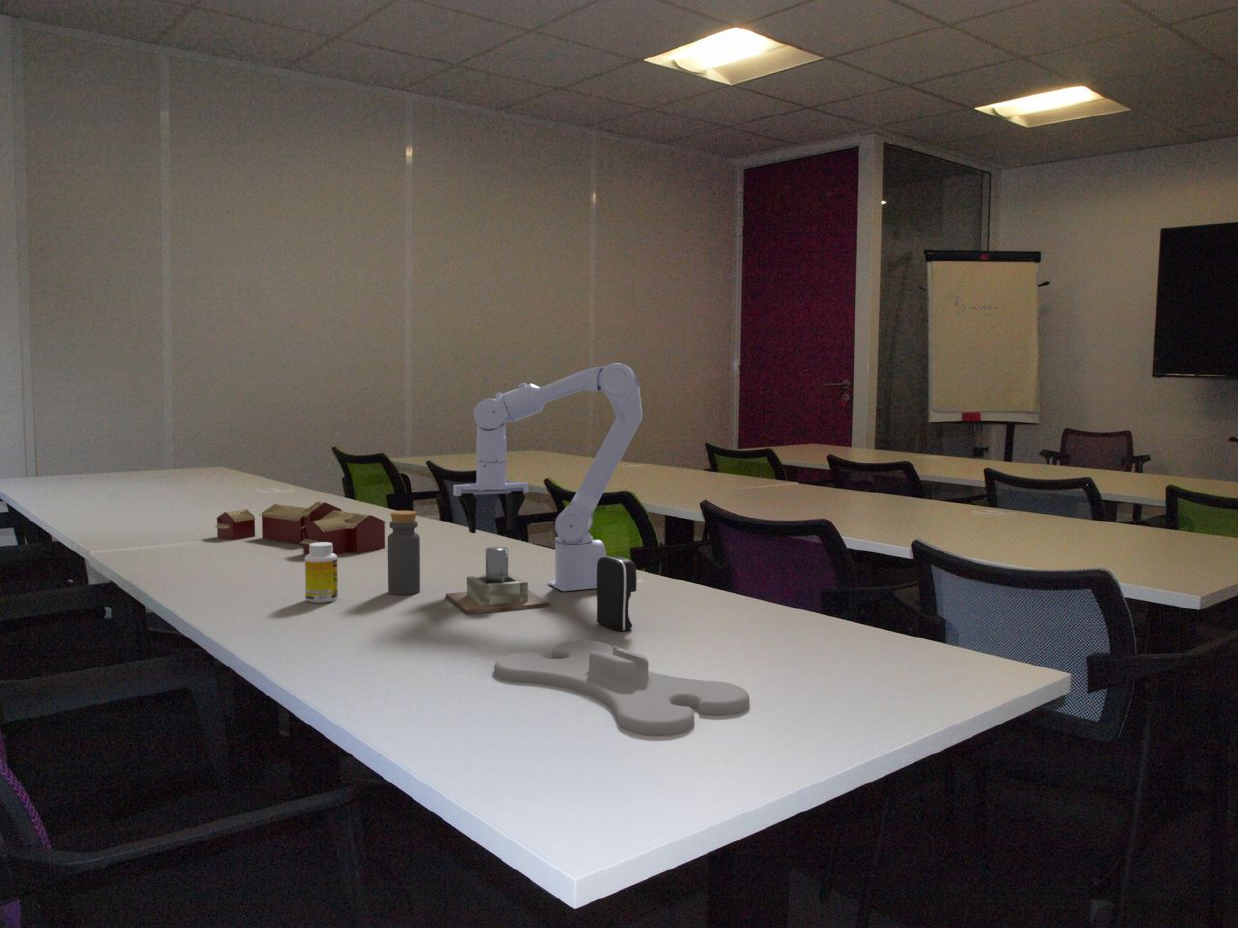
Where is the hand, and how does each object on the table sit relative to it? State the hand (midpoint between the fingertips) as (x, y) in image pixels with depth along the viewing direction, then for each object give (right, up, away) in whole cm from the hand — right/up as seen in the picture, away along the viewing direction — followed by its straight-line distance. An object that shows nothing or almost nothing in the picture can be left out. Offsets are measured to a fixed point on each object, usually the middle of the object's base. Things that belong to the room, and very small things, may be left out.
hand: (491, 531), depth 183 cm
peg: (+3, -11, -13) cm, 18 cm away
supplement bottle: (-29, -12, -14) cm, 34 cm away
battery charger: (+24, -14, -29) cm, 40 cm away
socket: (+3, -12, -13) cm, 18 cm away
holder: (+24, -17, -59) cm, 66 cm away
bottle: (-15, -11, -6) cm, 20 cm away
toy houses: (-53, -6, +45) cm, 69 cm away
